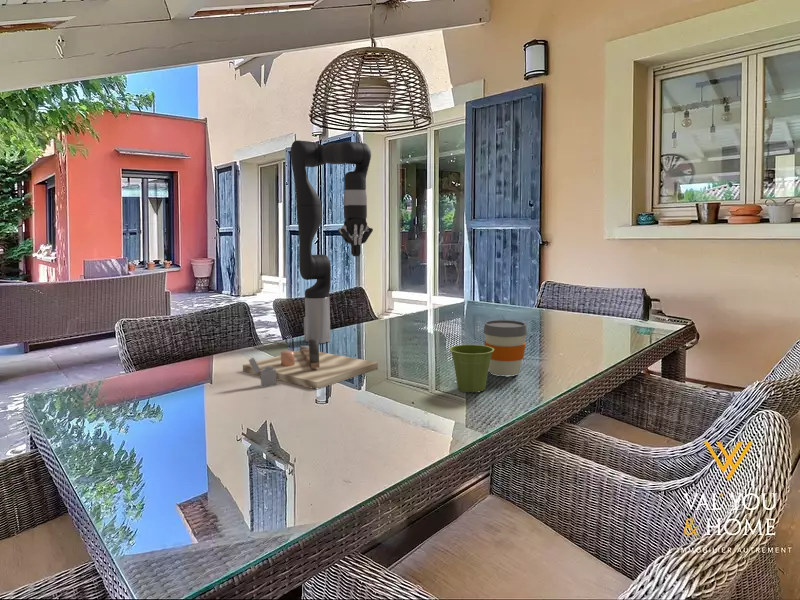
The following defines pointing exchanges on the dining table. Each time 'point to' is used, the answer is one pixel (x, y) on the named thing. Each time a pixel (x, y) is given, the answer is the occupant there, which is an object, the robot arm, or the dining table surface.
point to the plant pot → (471, 366)
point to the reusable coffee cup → (505, 345)
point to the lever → (311, 353)
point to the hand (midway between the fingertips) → (355, 256)
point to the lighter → (265, 373)
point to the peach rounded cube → (287, 358)
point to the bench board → (315, 369)
